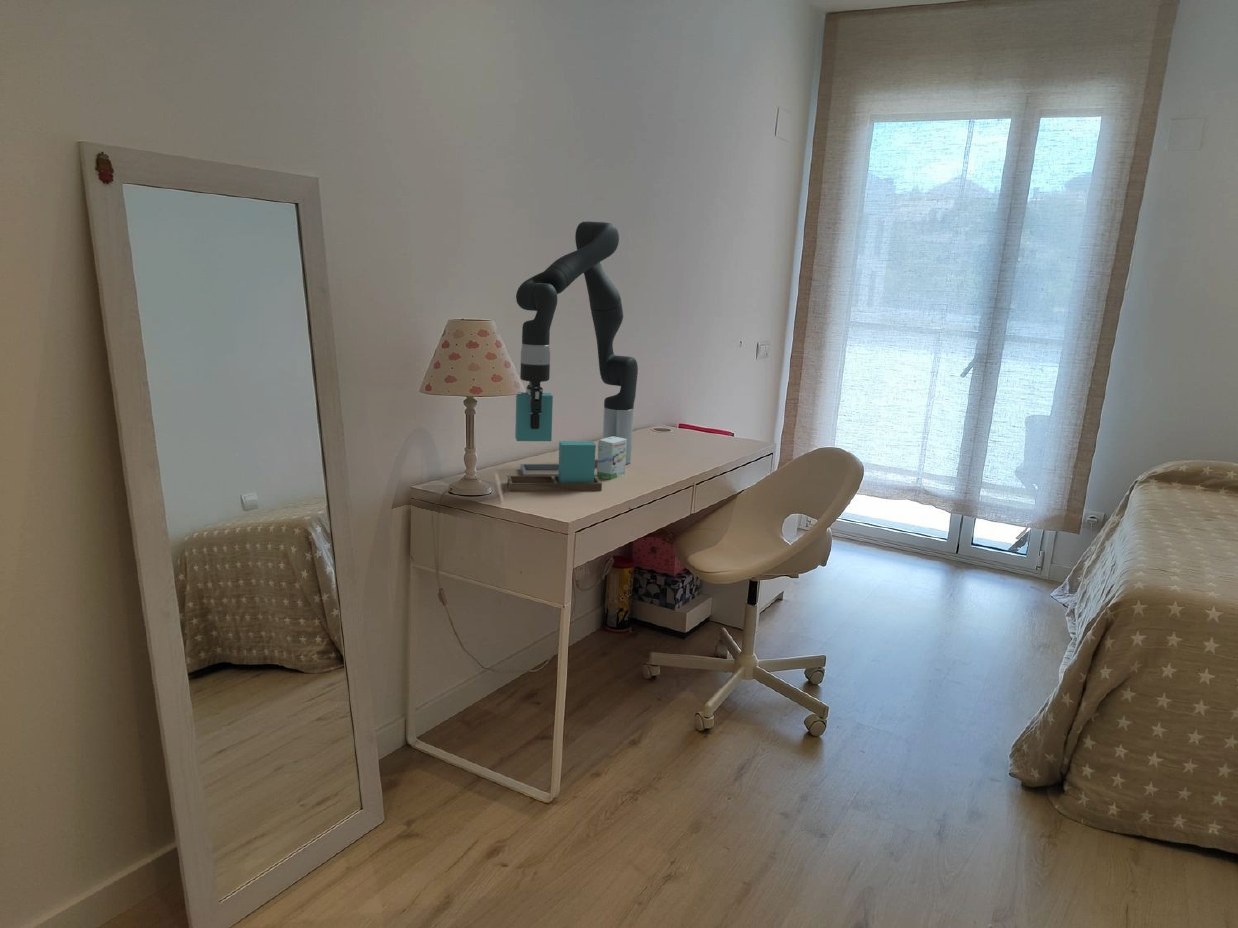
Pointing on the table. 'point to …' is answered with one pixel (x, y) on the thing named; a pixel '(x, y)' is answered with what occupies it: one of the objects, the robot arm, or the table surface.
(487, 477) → the table surface
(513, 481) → the brown shallow tray
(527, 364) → the robot arm
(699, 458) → the table surface
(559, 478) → the block
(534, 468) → the grey square tray
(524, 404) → the block
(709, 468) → the table surface
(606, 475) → the ink box
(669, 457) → the table surface
